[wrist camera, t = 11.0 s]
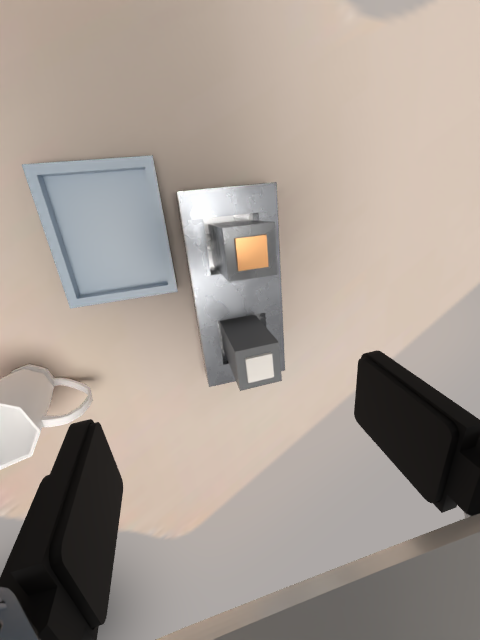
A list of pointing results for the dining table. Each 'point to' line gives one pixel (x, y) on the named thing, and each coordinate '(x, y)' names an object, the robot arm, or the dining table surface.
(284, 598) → the robot arm
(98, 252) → the tray
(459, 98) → the dining table surface
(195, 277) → the grey socket
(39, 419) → the cup
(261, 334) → the plug
